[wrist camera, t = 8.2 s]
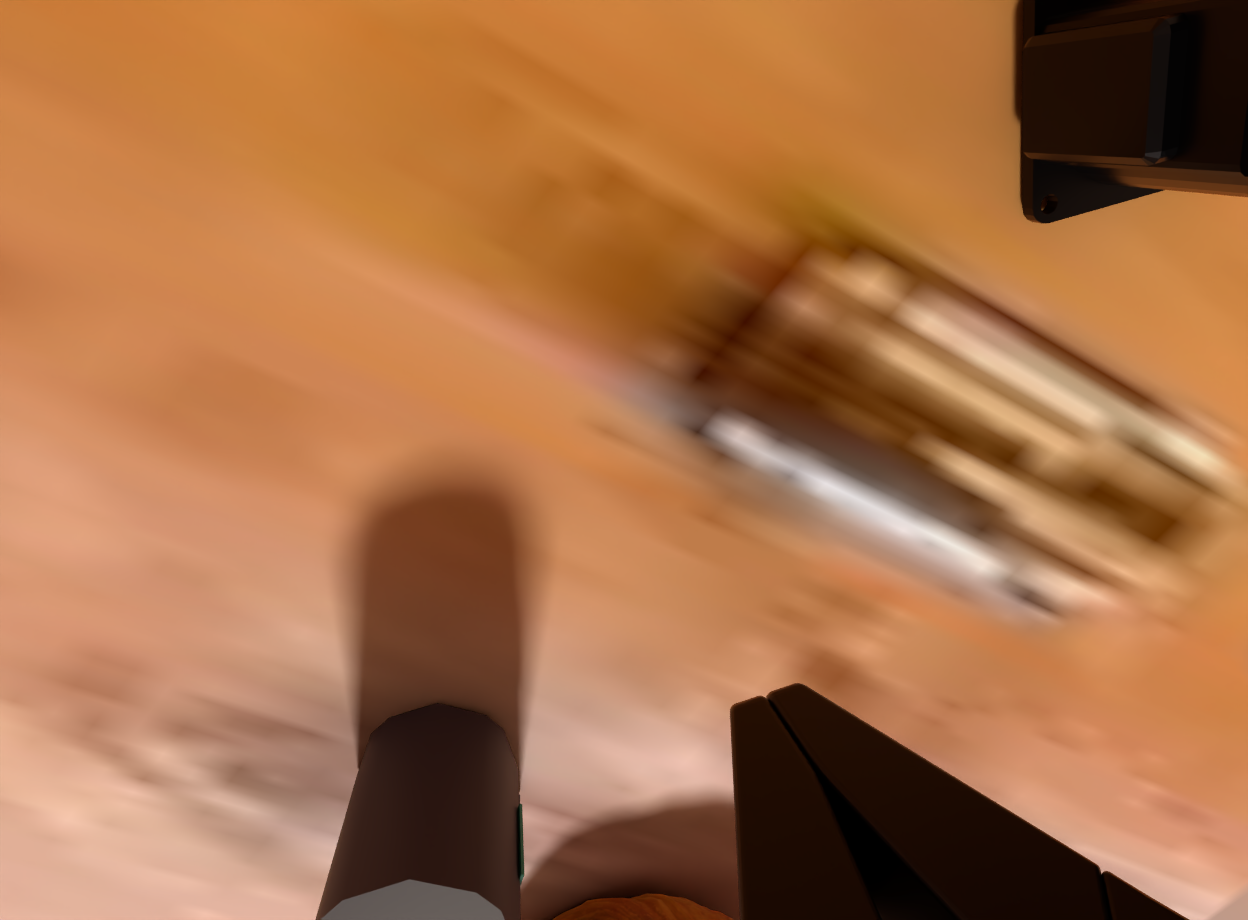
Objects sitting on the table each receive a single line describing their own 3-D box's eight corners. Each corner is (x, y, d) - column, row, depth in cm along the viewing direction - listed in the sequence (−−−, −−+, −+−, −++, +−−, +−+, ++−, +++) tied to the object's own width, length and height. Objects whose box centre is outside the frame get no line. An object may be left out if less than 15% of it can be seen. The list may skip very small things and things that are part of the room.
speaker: (548, 825, 26) (568, 1118, 18) (404, 868, 26) (356, 1185, 17) (495, 667, 24) (490, 916, 16) (337, 711, 24) (246, 988, 15)
